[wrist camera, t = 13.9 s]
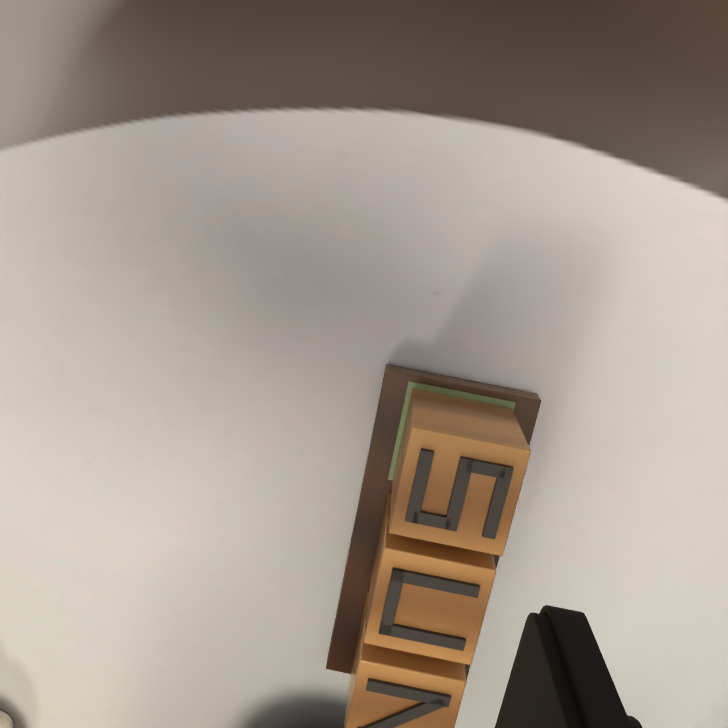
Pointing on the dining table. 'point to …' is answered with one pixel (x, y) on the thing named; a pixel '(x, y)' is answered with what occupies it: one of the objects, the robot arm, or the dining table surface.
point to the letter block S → (458, 472)
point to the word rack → (411, 582)
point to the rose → (5, 720)
